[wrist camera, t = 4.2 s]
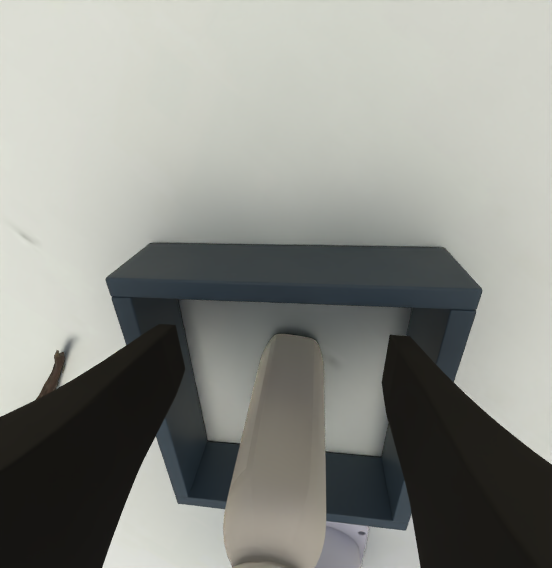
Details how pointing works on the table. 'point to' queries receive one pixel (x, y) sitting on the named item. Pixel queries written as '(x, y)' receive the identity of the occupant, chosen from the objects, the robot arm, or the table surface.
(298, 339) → the eye dropper bottle
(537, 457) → the robot arm
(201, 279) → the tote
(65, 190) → the table surface
